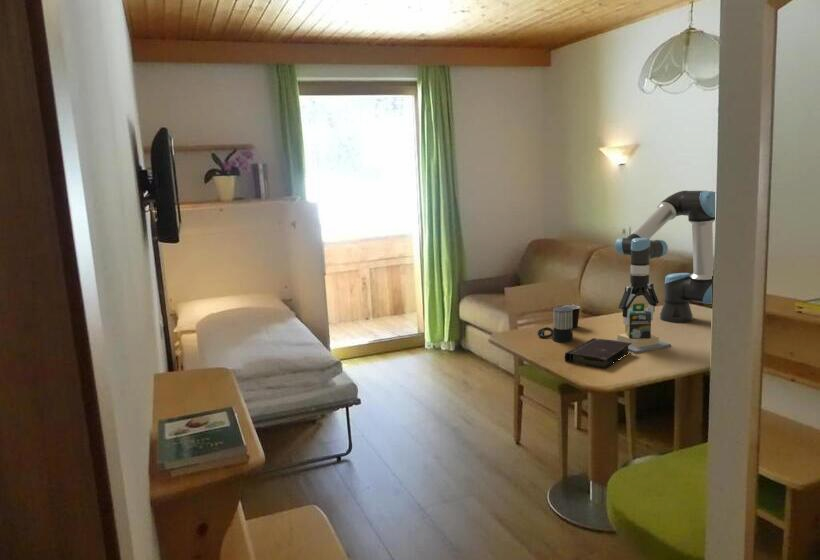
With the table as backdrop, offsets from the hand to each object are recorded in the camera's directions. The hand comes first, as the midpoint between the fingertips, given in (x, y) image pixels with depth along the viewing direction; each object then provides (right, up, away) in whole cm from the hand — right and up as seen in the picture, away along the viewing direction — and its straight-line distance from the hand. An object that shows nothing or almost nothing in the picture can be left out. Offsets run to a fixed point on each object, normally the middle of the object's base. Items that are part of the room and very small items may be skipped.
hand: (638, 322), depth 265 cm
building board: (0, -10, +2) cm, 10 cm away
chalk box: (0, -6, +1) cm, 6 cm away
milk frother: (-32, -9, +16) cm, 37 cm away
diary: (-21, -14, -13) cm, 29 cm away
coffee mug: (-20, -5, +36) cm, 42 cm away
